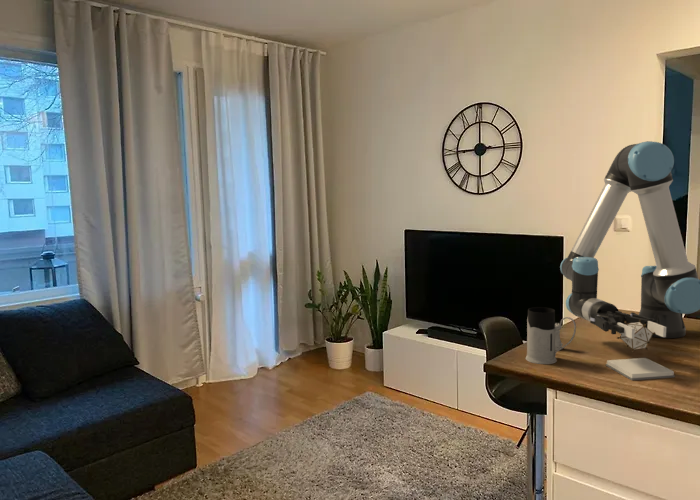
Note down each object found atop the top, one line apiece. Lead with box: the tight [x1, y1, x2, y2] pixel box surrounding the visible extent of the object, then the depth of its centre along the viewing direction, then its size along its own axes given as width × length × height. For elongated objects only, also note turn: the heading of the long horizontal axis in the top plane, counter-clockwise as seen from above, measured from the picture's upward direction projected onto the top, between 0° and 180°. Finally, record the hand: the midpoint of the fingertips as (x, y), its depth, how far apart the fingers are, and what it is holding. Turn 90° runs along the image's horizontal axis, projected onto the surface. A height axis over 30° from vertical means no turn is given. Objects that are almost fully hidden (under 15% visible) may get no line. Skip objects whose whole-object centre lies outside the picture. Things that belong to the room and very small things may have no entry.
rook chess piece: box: [555, 322, 564, 352], centre depth 171 cm, size 4×4×8 cm
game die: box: [616, 320, 656, 353], centre depth 148 cm, size 9×8×10 cm
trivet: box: [605, 357, 676, 381], centre depth 149 cm, size 12×12×2 cm
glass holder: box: [525, 306, 577, 365], centre depth 159 cm, size 9×14×15 cm, turn 51°
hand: (648, 332), depth 143 cm, fingers closed on game die, 8 cm apart
